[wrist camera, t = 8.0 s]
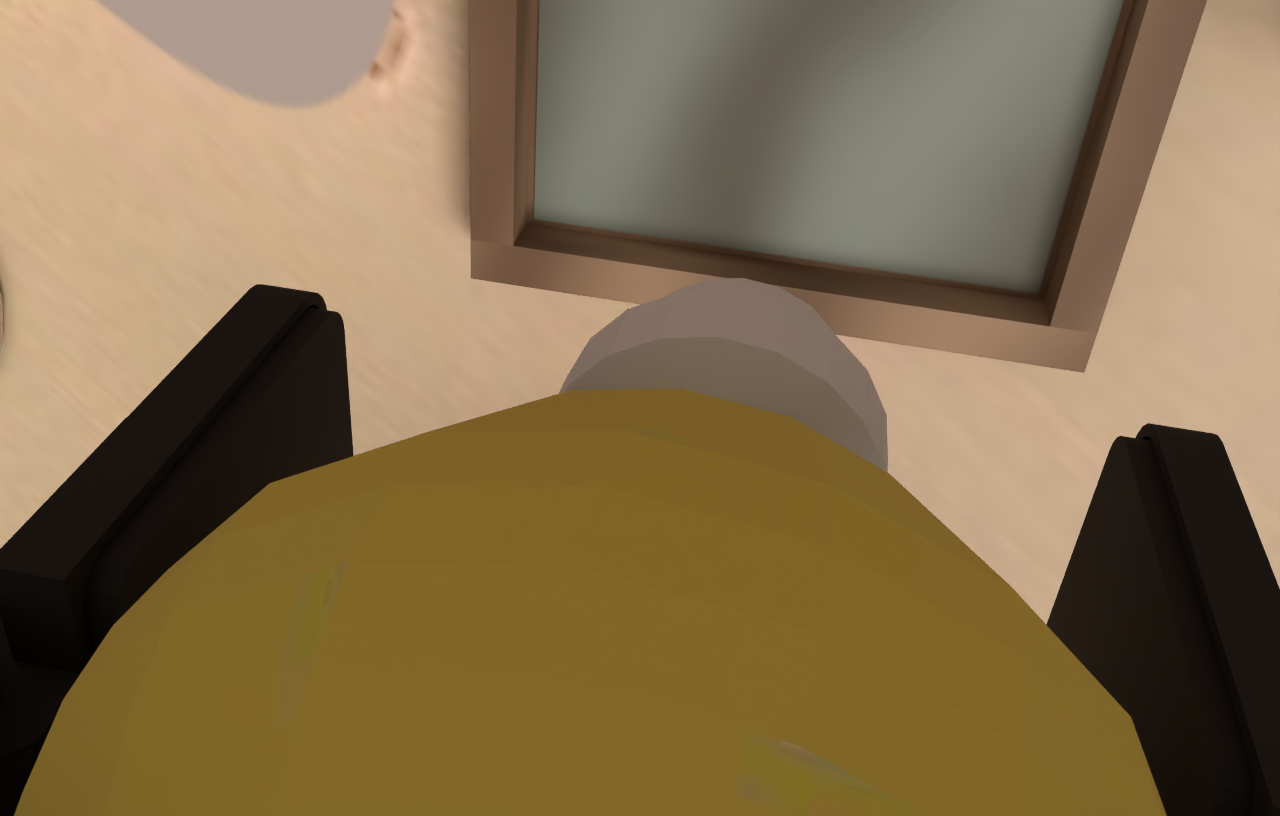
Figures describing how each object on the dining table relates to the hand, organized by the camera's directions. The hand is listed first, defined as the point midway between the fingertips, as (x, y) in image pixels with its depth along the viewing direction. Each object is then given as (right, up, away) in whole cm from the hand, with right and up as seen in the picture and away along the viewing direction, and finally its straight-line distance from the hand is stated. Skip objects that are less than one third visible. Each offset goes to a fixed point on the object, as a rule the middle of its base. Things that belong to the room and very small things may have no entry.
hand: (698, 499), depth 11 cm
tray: (+3, +9, +14) cm, 17 cm away
